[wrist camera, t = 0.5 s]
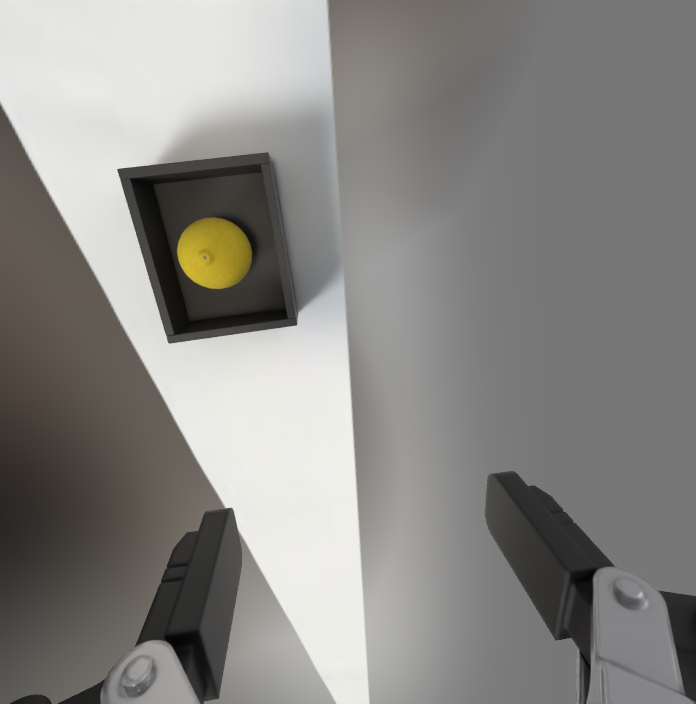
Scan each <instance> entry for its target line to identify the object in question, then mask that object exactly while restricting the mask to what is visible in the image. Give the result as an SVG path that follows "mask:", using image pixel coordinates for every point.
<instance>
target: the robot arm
mask: <svg viewBox="0 0 696 704" xmlns="http://www.w3.org/2000/svg"><path fill="white" fill-rule="evenodd" d="M485 517H486V522H487V526H488V529H489V531H490V533H491V535H492V536H493V538H494V540H495V541H496V543H497V545H498V546H499V548H500V550H501V551H502V553H503V554H504V556H505V558H506V559H507V561H508V563H509V564H510V566H511V568H512V569H513V571H514V573H515V574H516V576H517V578H518V579H519V581H520V582H521V584H522V586H523V587H524V589H525V590H526V592H527V594H528V595H529V597H530V599H531V600H532V602H533V604H534V605H535V607H536V609H537V610H538V612H539V614H540V615H541V617H542V619H543V620H544V622H545V623H546V625H547V627H548V629H549V630H550V632H551V633H552V635H553V637H554V638H555V640H562V639H567V638H572V639H573V641H574V642H575V643H576V645H577V647H578V653H577V685H576V704H696V596H690V595H684V594H676V593H670V592H664V591H658V590H657V589H656V588H655V587H654V586H653V585H651V583H649V582H648V581H647V580H645V579H644V578H643V577H641V576H639V575H637V574H635V573H633V572H631V571H629V570H626V569H623V568H618V567H615V566H614V565H613V564H612V563H611V562H610V560H609V559H608V558H607V557H606V556H605V555H604V554H603V553H602V552H601V551H600V549H599V548H598V547H597V546H596V545H595V544H594V543H593V542H592V541H591V540H590V538H589V537H588V536H587V535H586V534H585V533H584V532H583V531H582V530H581V529H580V527H579V526H577V524H576V523H573V520H572V519H571V518H570V517H569V516H568V514H567V513H566V512H563V509H562V508H561V507H560V506H559V504H558V503H557V502H556V501H555V500H554V499H553V498H552V497H551V496H550V495H548V494H547V493H545V492H543V491H542V490H540V489H539V488H537V487H536V486H527V485H526V483H525V482H524V481H523V480H522V479H521V478H520V477H519V475H518V474H517V473H515V472H514V471H509V472H501V473H494V474H490V475H489V476H488V480H487V493H486V506H485ZM241 566H242V549H241V543H240V539H239V534H238V529H237V524H236V519H235V515H234V511H233V509H232V508H226V509H219V510H211V511H206V512H205V514H204V516H203V519H202V522H201V525H200V528H199V531H195V532H187V533H186V534H185V536H184V537H183V538H182V539H181V541H180V542H179V543H178V544H177V545H176V546H175V548H174V549H173V552H172V554H171V557H170V559H169V562H168V564H167V569H166V570H165V572H164V575H163V577H162V580H161V584H160V585H159V587H158V590H157V593H156V595H155V598H154V601H153V603H152V605H151V608H150V610H149V613H148V615H147V618H146V621H145V623H144V626H143V628H142V631H141V633H140V636H139V639H138V641H137V643H136V645H135V647H134V648H133V649H131V650H130V651H128V652H127V653H126V654H125V655H123V656H122V657H121V658H120V659H119V660H118V661H117V663H116V664H115V665H114V666H113V667H112V669H111V671H110V672H109V673H108V675H107V677H106V679H104V680H103V681H102V682H100V683H98V684H97V685H95V686H93V687H91V688H89V689H87V690H85V691H83V692H81V693H79V694H77V695H74V696H72V697H71V698H68V699H66V700H64V701H62V702H60V703H58V704H204V701H208V700H213V699H219V694H220V688H221V682H222V676H223V671H224V665H225V659H226V653H227V647H228V642H229V636H230V630H231V625H232V619H233V613H234V607H235V602H236V596H237V590H238V585H239V579H240V573H241ZM11 704H52V703H51V701H50V700H49V699H48V698H47V697H46V696H43V695H29V696H26V697H23V698H20V699H18V700H16V701H14V702H12V703H11Z"/></svg>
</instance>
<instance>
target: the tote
mask: <svg viewBox="0 0 696 704" xmlns="http://www.w3.org/2000/svg"><path fill="white" fill-rule="evenodd" d="M117 170H118V173H119V177H120V179H121V183H122V187H123V190H124V194H125V197H126V200H127V204H128V207H129V211H130V214H131V217H132V221H133V224H134V228H135V231H136V235H137V238H138V241H139V245H140V248H141V252H142V255H143V258H144V262H145V265H146V269H147V272H148V275H149V279H150V282H151V286H152V289H153V292H154V296H155V299H156V303H157V306H158V309H159V313H160V316H161V320H162V323H163V326H164V330H165V333H166V336H167V340H168V343H177V342H184V341H190V340H197V339H204V338H211V337H218V336H225V335H232V334H239V333H246V332H253V331H260V330H267V329H274V328H281V327H288V326H295V325H297V317H298V311H297V305H296V299H295V293H294V287H293V281H292V275H291V269H290V263H289V257H288V251H287V245H286V239H285V233H284V227H283V221H282V215H281V209H280V202H279V196H278V190H277V184H276V178H275V172H274V166H273V162H272V160H271V158H270V156H269V154H268V153H259V154H249V155H240V156H231V157H222V158H213V159H204V160H195V161H186V162H177V163H168V164H158V165H149V166H140V167H131V168H122V169H117ZM211 217H216V218H221V219H225V220H227V221H230V222H232V223H234V224H235V225H236V226H238V227H239V228H240V229H241V230H242V231H243V232H244V234H245V235H246V236H247V238H248V240H249V242H250V245H251V249H252V263H251V266H250V269H249V271H248V273H247V274H246V276H245V277H244V278H243V279H242V280H241V281H240V282H239V283H237V284H235V285H233V286H231V287H228V288H223V289H211V288H207V287H204V286H201V285H199V284H197V283H196V282H194V281H193V280H191V279H190V278H189V277H188V276H187V275H186V273H185V272H184V271H183V269H182V267H181V265H180V263H179V260H178V253H177V249H178V242H179V240H180V237H181V235H182V233H183V232H184V231H185V229H186V228H187V227H188V226H189V225H191V224H192V223H194V222H195V221H197V220H200V219H203V218H211Z"/></svg>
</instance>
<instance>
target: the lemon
mask: <svg viewBox="0 0 696 704" xmlns="http://www.w3.org/2000/svg"><path fill="white" fill-rule="evenodd" d="M177 253H178V260H179V263H180V265H181V267H182V269H183V271H184V272H185V273H186V275H187V276H188V277H189V278H190V279H191V280H193V281H194V282H196V283H197V284H199V285H201V286H204V287H207V288H211V289H223V288H228V287H231V286H233V285H235V284H237V283H239V282H240V281H241V280H242V279H243V278H244V277H245V276H246V274H247V273H248V271H249V269H250V266H251V263H252V249H251V245H250V242H249V240H248V238H247V236H246V235H245V234H244V232H243V231H242V230H241V229H240V228H239V227H238V226H236V225H235V224H234V223H232V222H230V221H227V220H225V219H221V218H216V217H211V218H203V219H200V220H197V221H195V222H194V223H192V224H191V225H189V226H188V227H187V228H186V229H185V231H184V232H183V233H182V235H181V237H180V240H179V242H178V249H177Z"/></svg>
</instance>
